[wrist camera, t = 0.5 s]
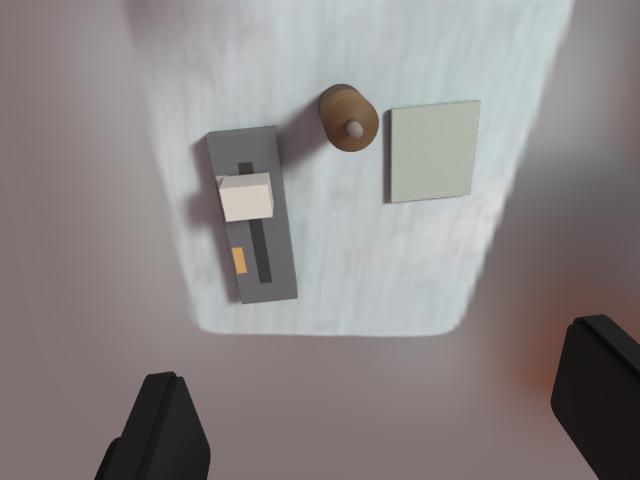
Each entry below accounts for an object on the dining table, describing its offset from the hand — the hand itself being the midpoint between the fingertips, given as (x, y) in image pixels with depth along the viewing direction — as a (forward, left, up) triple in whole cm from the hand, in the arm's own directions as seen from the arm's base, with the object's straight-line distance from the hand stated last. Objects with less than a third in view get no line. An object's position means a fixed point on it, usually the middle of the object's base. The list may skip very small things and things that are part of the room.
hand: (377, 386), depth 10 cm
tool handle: (-1, +3, -30) cm, 30 cm away
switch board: (+9, -6, -30) cm, 32 cm away
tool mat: (+4, +11, -30) cm, 32 cm away
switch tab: (+5, -6, -28) cm, 29 cm away
